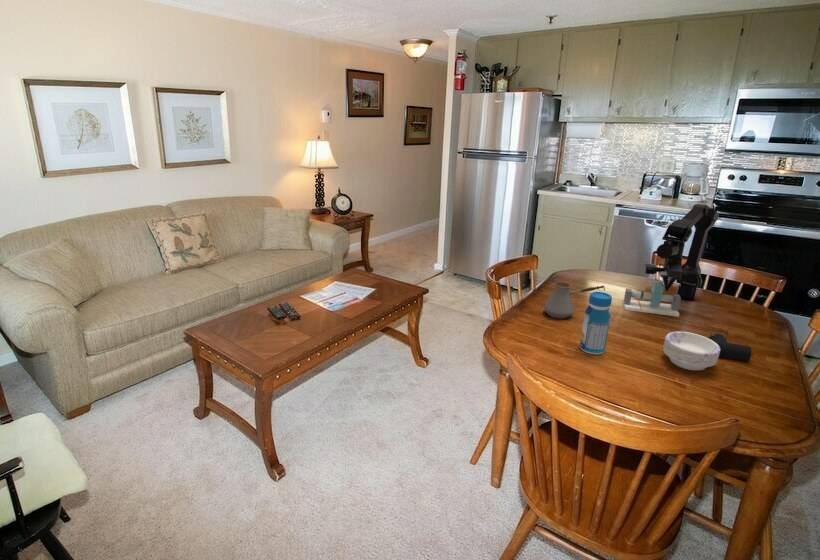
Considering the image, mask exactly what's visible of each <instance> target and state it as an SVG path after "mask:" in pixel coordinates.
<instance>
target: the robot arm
mask: <svg viewBox="0 0 820 560" xmlns="http://www.w3.org/2000/svg"><path fill="white" fill-rule="evenodd" d="M719 215H720V214H719V212H718V211H717V210H716V209H714V208H711V207H710V206H709V205H707V204H702V203H701V204H700V203H694V204H693V206H692V208H691V209H690V210H689V211H688V212H687V213H686V214H685V215H683V217H682V218H681V219H676V220H674V221H672V222H671V223H670V224H669V225H668V226H667V228H666V230H665V232H664V235H663V236H662V240H663V243H662V244H660V245H659V246H658V247H657V248H656V254H657V256H658V257H659V258H660V259H663V260H664V262H663V265H662V267H660V266H657V265H656V264H654V263H645V264H644V265H643V271H644V273H645V274H647V275H655V274H657V273H658V275H659V277H661V278H662V281H663V282H662V283H663V285H664V288H663V289H664V291H665V292H669V290H670V288H671V287H672V285H673V284H674V283H675V282H676V284H678V285H677V287H676V291H675V294H678V295H680V297H681V300H687V301H694V302H695V301H696V298H695V297H696V293H697V288H701V287H702V285H703V284H702V283H703V280H702V275H701V273H702V269H701V266H700V260H701V257H702V253H703V249H704V246H705V243H706V239H707V236H708V233H709V231H710V229H712V228H713V227H714V226H715V224H716V222H717V221H718V219H719V217H720V216H719ZM693 227H694V234H693ZM692 234H693V235H692ZM691 236H693V237H692V240H691V244H690V246H689V247H690V248H689V250H688V254H687V258H686V262H685V263H683V264H682V261H683V254H684V249H685V244H686V242H688V241H689V239H690V238H691Z"/></svg>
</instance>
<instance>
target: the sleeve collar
mask: <svg viewBox="0 0 820 560" xmlns="http://www.w3.org/2000/svg"><path fill="white" fill-rule="evenodd" d="M652 281H653V282H652V284H651V289H650V293H653V297H652V300H650V299H648V302H650V304H651V306H658V307H659V306H660V303H662V301H661V297H662V294H663V293H664V289H665V288H664V282H662V281H660V280H652Z"/></svg>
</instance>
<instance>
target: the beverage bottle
mask: <svg viewBox="0 0 820 560" xmlns="http://www.w3.org/2000/svg"><path fill="white" fill-rule="evenodd" d="M588 298H589V300H588V304H589V305H588V306H587V307H586V309H585V310H584V316H583V318H582V329H581V336H580V341H579V349H581V351H583V352H585V353H587V354H590V355H602V354H604V353H605V351H606V347H607V346H606V345H607V341H608V335H609V331H610V330H609V329H610V327H611V318H612V312H611V309H610V307H611V305H612V302H613V301H612V299H613V297H612V295H611V294H609V293H607V292H605V291H591V292H590V294H589V297H588Z"/></svg>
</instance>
